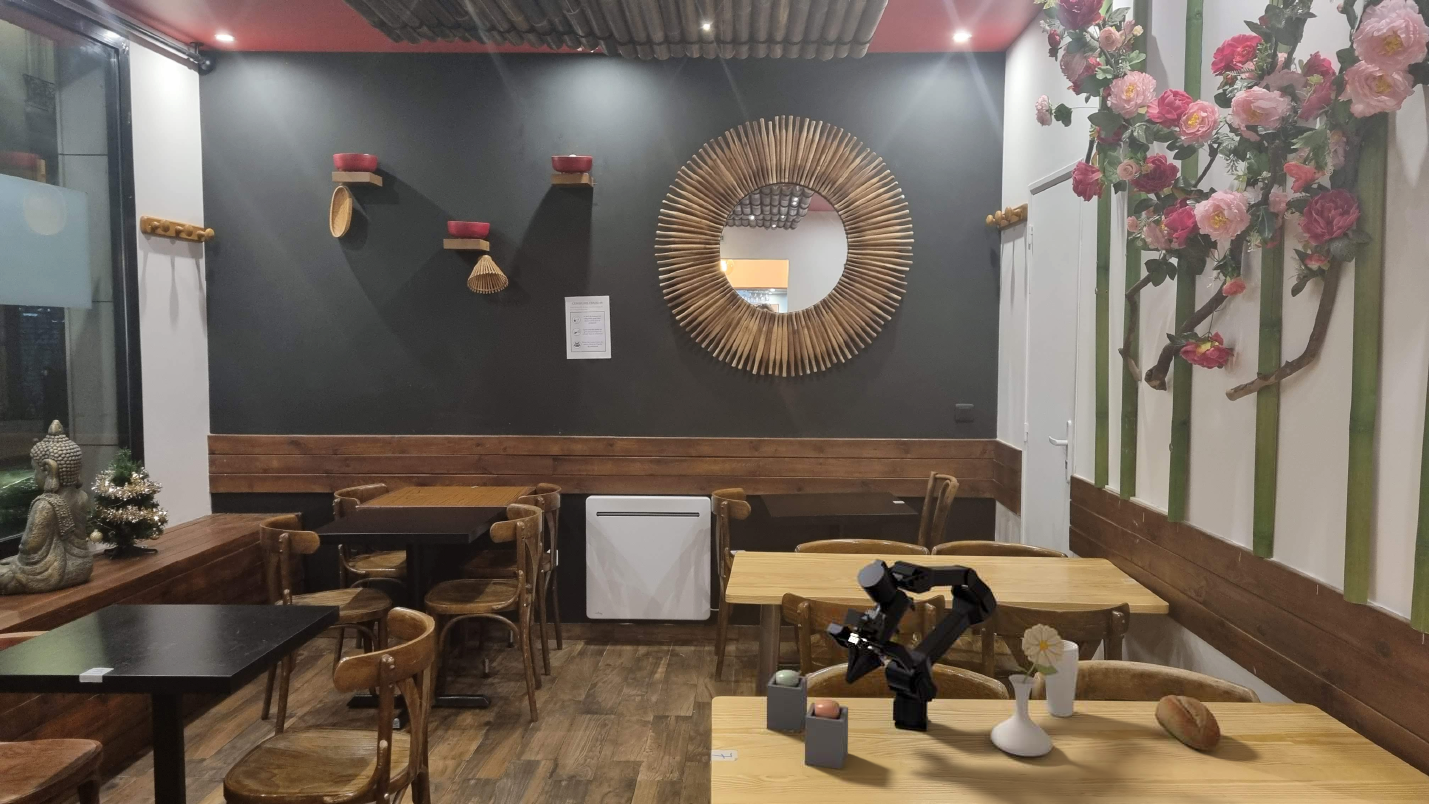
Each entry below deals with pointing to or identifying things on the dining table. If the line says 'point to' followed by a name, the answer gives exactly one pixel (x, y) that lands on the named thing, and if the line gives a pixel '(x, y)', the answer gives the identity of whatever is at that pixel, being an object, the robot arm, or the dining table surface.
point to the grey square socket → (786, 705)
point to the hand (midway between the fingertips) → (847, 682)
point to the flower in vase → (1020, 729)
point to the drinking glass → (1063, 682)
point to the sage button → (787, 678)
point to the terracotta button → (827, 709)
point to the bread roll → (1188, 721)
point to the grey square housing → (826, 739)
